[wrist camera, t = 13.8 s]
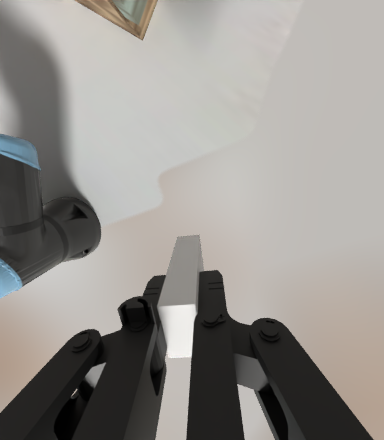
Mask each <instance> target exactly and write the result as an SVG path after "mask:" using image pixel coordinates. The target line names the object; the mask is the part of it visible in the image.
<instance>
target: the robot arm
mask: <svg viewBox="0 0 384 440" xmlns="http://www.w3.org/2000/svg"><path fill="white" fill-rule="evenodd" d="M40 171H41V168H40V167H39V163H38V156H37V151H36V148H35V147H34V145H33V144H32V143H30V142H29V141H27V140H24V139H21V138H17V137H13V136H8V135H4V134H0V298H2V297H4V296H6V295H7V294H9V293H11V292H13V291H16V290H19V289H20V288H21V287H23V286H24V285H25V284H27V283H29V282H31V281H32V280H34V279H35V278H37V277H39V276H40V275H42V274H43V273H45V272H47V271H48V270H50V269H51V268H53V267H55V266H56V265H58V264H59V263H61V262H65V261H70V260H75V259H80V258H83V257H85V256H87V255H88V254H90V253H91V252H93V251H94V250H95V249H96V248H97V246H98V245H99V242H100V239H101V228H100V224H99V221H98V219H97V217H96V215H95V213H94V212H93V211H92V209H91V208H90V207H89V206H88V205H86V204H85V203H84V202H82V201H80V200H78V199H75V198H71V197H64V198H59V199H55V200H52V201H50V202H48V203H47V204H46V205H44V206H43V204H42V193H41V182H40ZM118 312H119V316H120V319H121V322H122V325H123V326H122V328H121V330H119V331H116V332H114V333H111V334H108V335H105V336H102V337H101V335H100V333H99V331H97V330H95V329H88V330H85V331H82V332H80V333H78V334H76V335H74V337H72V338H71V339H70V340H69V341H68V342H67V343H66V344H65V345H64V346H63V347H62V348H61V349H60V350H59V351H58V352H57V353H56V354H55V355H54V356H53V358H52V359H51V360H50V361H49V362H48V363H47V364H46V365H45V366H44V367H43V368H42V369H41V370H40V372H38V374H37V375H36V376H35V377H34V378H33V379H32V380H31V381H30V382H29V383H28V384H27V385H26V386H25V388H23V389H22V390H21V392H20V393H19V394H18V395H17V396H16V397H15V398H14V399H13V400H12V401H11V402H10V403H9V404H8V405H7V406H6V407H5V409H4V410H3V411H2V412H1V413H0V440H155V438H156V431H157V425H158V419H159V413H160V407H161V400H162V395H163V388H164V383H165V376H166V363H165V356H166V350H167V353H168V357H169V358H179V357H192V359H191V376H190V391H189V406H188V423H187V439H186V440H245V439H244V432H243V424H242V417H241V409H240V401H239V395H238V386H237V384H239V385H243V386H246V387H248V388H251V389H254V391H255V394H256V396H257V399H258V401H259V403H260V406H261V408H262V410H263V413H264V415H265V417H266V419H267V422H268V424H269V427H270V429H271V431H272V433H273V436H274V438H275V440H373V438H372V437H371V436H370V435H369V433H368V432H367V431H366V429H365V428H364V427H363V426H362V424H361V423H360V422H359V420H358V419H357V418H356V416H355V415H354V414H353V413H352V411H351V410H350V409H349V407H348V406H347V405H346V404H345V402H344V401H343V400H342V398H341V397H340V396H339V394H338V393H337V392H336V391H335V389H334V388H333V387H332V385H331V384H330V383H329V381H328V380H327V379H326V378H325V376H324V375H323V374H322V372H321V371H320V370H319V368H318V367H317V366H316V365H315V363H314V362H313V361H312V359H311V358H310V357H309V355H308V354H307V353H306V352H305V350H304V349H303V348H302V346H301V345H300V344H299V342H298V341H297V340H296V339H295V337H294V336H293V335H292V333H291V332H290V331H289V329H288V328H287V327H286V326H285V325H283V324H282V323H281V322H279V321H277V320H275V319H270V318H260V319H258V320H256V321H254V322H253V324H252V325H246V324H242V323H239V322H237V321H235V320H233V319H232V318H231V317H230V316H229V314H228V312H227V308H226V300H225V292H224V285H223V278H222V275H221V274H220V272H219V271H218V270H214V271H204V267H203V259H202V251H201V244H200V236H199V235H194V236H183V237H177V240H176V243H175V247H174V250H173V254H172V257H171V260H170V264H169V267H168V271H167V274H166V275H161V276H154V277H153V278H152V279H151V280H150V281H149V282H148V284H147V286H146V289H145V291H144V293H143V296H138V297H133V298H131V299H128V300H126V301H125V302H124V303H122V304H121V305H120V307H119V308H118ZM76 389H77V391H76V393H75V394H74V395H73V396H71V395H72V394H73V393H74V391H75V390H76Z"/></svg>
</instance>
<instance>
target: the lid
mask: <svg viewBox="0 0 384 440" xmlns="http://www.w3.org/2000/svg"><path fill="white" fill-rule="evenodd" d="M110 1H113V2H114V4H115V5H116V6H117V8H118V9H119V10H120V11H121V13H122V14H123V15H124V16H125V17H126V18H127V19H129V20H131V21H132V22H134V23H136V24H137V25H139V23H140V20H141V18H142V15H143V12H144V9H145V7H146V4H147V1H148V0H110Z"/></svg>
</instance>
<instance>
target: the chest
mask: <svg viewBox="0 0 384 440" xmlns="http://www.w3.org/2000/svg"><path fill="white" fill-rule="evenodd" d="M75 1H77V2H78V3H80V4H82V5H84V6H85V7H87V8H89V9H90V10H92V11H94V12H95V13H97V14H99V15H100V16H102V17H104V18H106V19H107V20H109V21H111V22H112V23H114V24H116V25H117V26H119V27H121V28H122V29H124V30H126V31H128V32H129V33H131V34H133V35H134V36H136V37H138V38H139V39H141V40H143V38H144V36H145V33H146V30H147V28H148V25H149V22H150V20H151V17H152V14H153V11H154V9H155V6H156V3H157V1H158V0H148V1H147V4H146V7H145V9H144V12H143V15H142V18H141V20H140V23H139V25H137V24H136V23H134V22H132V21H131V20H129V19H127V18H126V17H125V16H124V15H123V14H122V13H121V11H120V10H119V9H118V8H117V6H116V5H115V4H114V2H113V1H110V0H75Z"/></svg>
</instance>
